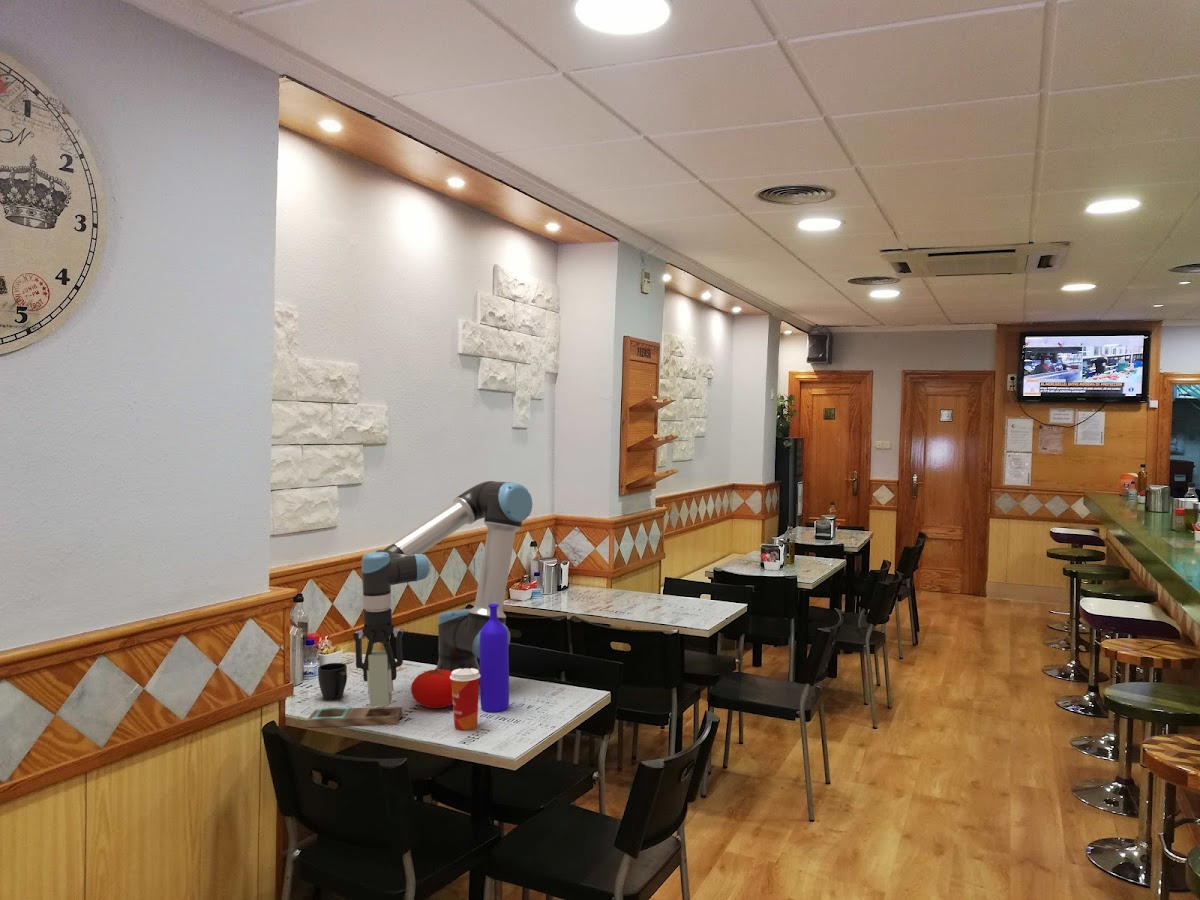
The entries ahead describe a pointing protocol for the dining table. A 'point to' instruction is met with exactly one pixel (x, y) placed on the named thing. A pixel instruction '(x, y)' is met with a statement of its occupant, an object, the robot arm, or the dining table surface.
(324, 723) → the wooden board
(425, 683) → the tomato
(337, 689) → the mug
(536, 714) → the dining table surface
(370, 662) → the block
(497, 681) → the bottle
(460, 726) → the coffee cup
